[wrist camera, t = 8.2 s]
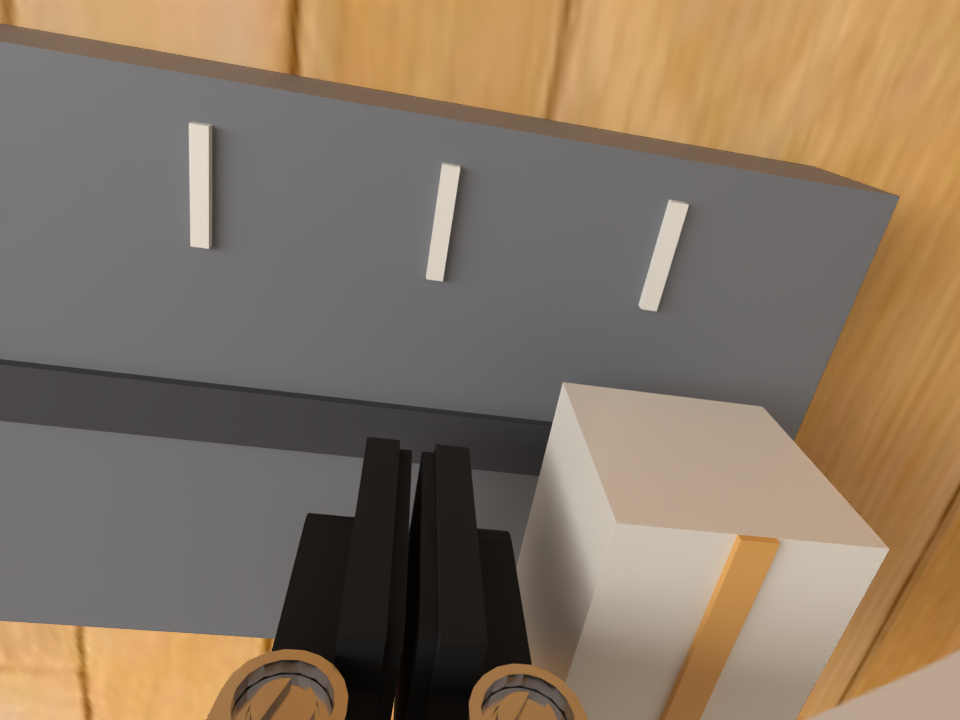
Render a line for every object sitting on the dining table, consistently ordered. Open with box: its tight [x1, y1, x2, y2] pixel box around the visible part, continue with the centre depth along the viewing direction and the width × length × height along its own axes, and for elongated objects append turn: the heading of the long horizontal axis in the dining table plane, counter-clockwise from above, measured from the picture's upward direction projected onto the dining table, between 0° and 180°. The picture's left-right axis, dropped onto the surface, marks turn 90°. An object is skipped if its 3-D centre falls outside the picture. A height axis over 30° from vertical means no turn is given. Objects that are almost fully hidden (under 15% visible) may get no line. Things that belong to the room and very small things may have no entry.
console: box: [0, 24, 900, 639], centre depth 14 cm, size 12×24×3 cm, turn 80°
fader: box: [516, 382, 889, 720], centre depth 11 cm, size 5×4×5 cm
